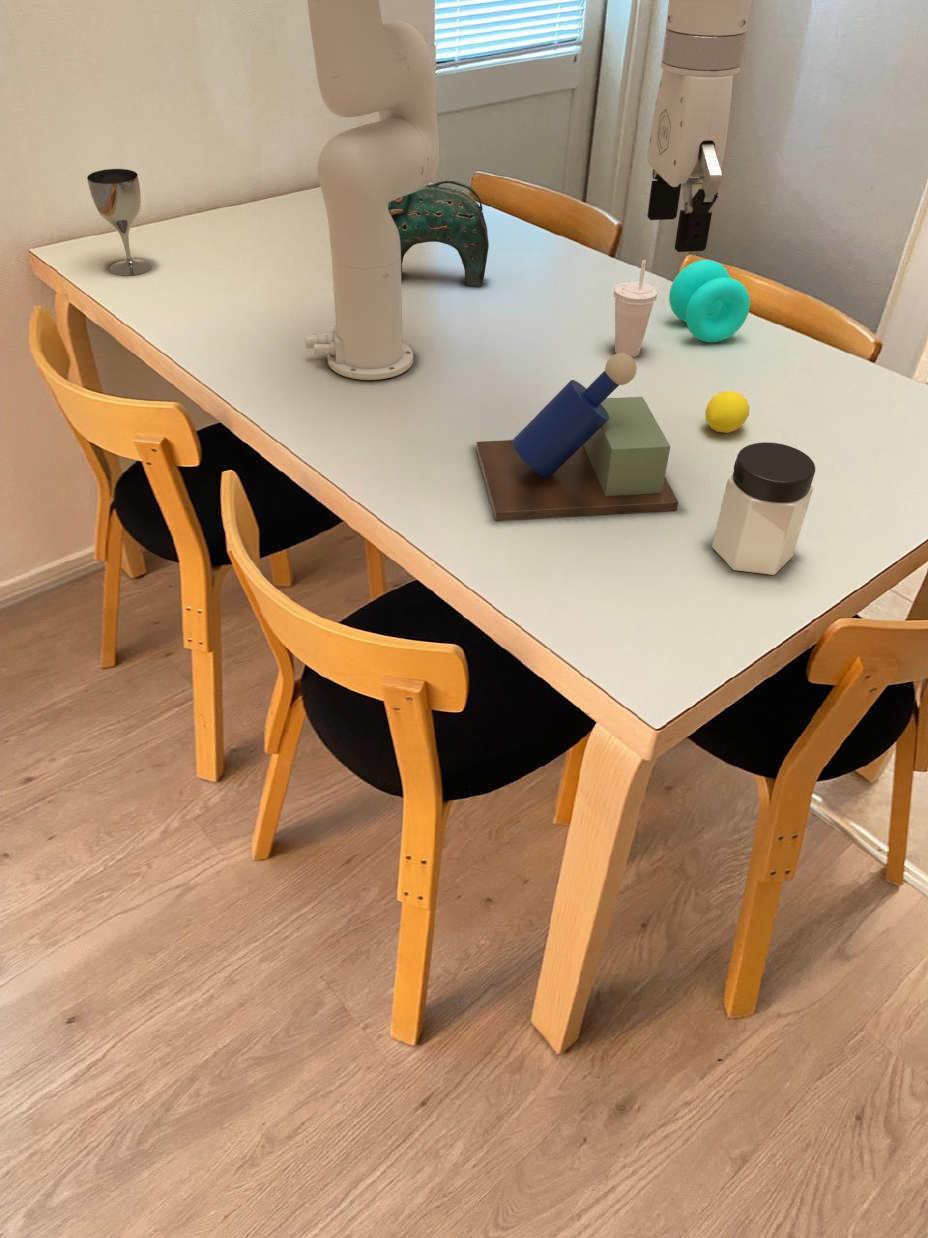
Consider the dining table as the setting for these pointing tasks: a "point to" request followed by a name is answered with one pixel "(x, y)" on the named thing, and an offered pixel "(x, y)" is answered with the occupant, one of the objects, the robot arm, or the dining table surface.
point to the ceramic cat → (444, 224)
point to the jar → (764, 507)
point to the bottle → (571, 418)
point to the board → (555, 488)
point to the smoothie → (632, 313)
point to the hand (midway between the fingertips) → (675, 233)
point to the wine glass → (119, 210)
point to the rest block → (629, 449)
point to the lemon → (727, 411)
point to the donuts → (709, 301)
